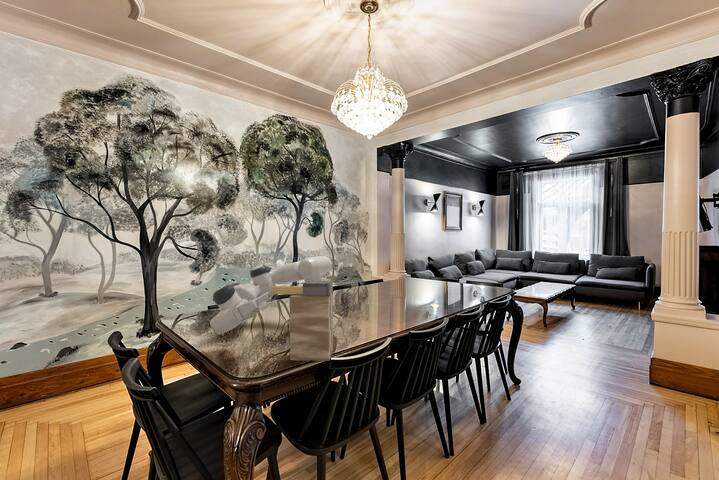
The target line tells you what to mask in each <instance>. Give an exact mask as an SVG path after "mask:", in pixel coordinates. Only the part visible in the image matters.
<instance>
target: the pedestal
mask: <svg viewBox="0 0 719 480" xmlns="http://www.w3.org/2000/svg"><path fill="white" fill-rule="evenodd" d="M333 294H334V293H332V294H331V296H303V294H291V295H290V296H289V359H290V361H309V360H312V361H313V362H314V361H316V362H317V361H321V362H322V361H323V362H329V361H330V359H331V356H332V354H333V352H332V351H334V317H333V316H334V308H333V307H334V306H333V305H334V299H333V297H334V295H333Z"/></svg>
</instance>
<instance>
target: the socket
mask: <svg viewBox="0 0 719 480" xmlns="http://www.w3.org/2000/svg"><path fill="white" fill-rule="evenodd" d="M333 285H334V284H333V280H322V281H306V282H305V281H303V283H302V286H303V296H331V294H332V293H333V292H334V291H333V289H334V288H333V287H334V286H333ZM333 294H334V293H333Z"/></svg>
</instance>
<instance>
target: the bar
mask: <svg viewBox="0 0 719 480" xmlns="http://www.w3.org/2000/svg"><path fill="white" fill-rule="evenodd" d="M272 294H278V295H293V294H303V285H276V286H273V287H272Z"/></svg>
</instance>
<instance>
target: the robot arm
mask: <svg viewBox="0 0 719 480" xmlns="http://www.w3.org/2000/svg"><path fill="white" fill-rule="evenodd" d="M332 269H333V262H332V260H331V258H329V257H328V256H325V255H317V256H309V257H306V258H303V259H302V260H298V261H295V262H290V263H288V264H284V265H281V266H279V267H277V268H275V269H273V268H272V267H269V265H266V264H265V265H264V264H259V265H256V266H253V268H252V269H251V270H250V272H249V274H250V278H251V280H252V282H246V283H244V284H242V283H240V282H235V283H231V284H225V285H222V286H220V287H219V288H217V289H216V290H215V291H214V292H213V294H212V301H213V302H214V303H215V304H216V305H217V306H218V308H219V309H220V311H221V312H219V313H218V314H216V315H215V316H214V317H212V318H211V319H210V321H209V324H210V327H211V329H212V331H214V333H215V334H216V335H222V334H224V333H227V332H230V331H231V330H234V329H235V328H236V327H237V328H238V327H239V326H241V325H242V324H244V323H245V322H246V321H248V320H251V319H252V318H254V317H255V313H256V312H257V308H260V307H261V306H262V305H264V304H266V303H269V302H273V301H274V300H276V299H277V298H278V296H279V294H272V287H273V286H277V285H287V284H291V283H296V282H299V281H303V282H306V281H323V279H322V278H323V277H322V276H323V275H326V274H327V273H329V272H331V270H332Z"/></svg>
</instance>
